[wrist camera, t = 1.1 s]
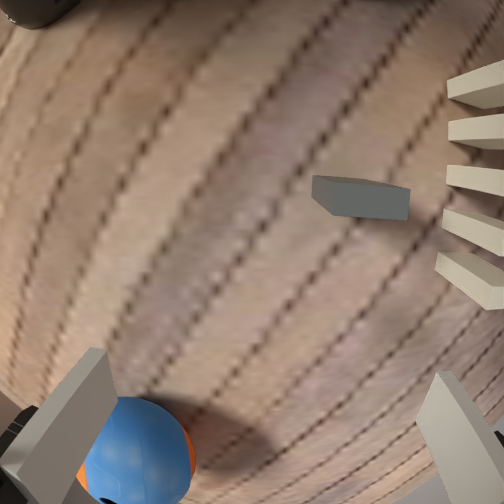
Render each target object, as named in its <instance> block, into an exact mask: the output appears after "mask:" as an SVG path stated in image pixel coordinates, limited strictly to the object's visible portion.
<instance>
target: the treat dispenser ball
mask: <svg viewBox="0 0 504 504" xmlns="http://www.w3.org/2000/svg"><path fill="white" fill-rule="evenodd" d="M117 399H118V402H117V404H116V406H115V408H114V409H113V411H112V413H111V414H110V416H109V418H108V420H107V421H106V423H105V425H104V427H103V428H102V430H101V432H100V434H99V435H98V437H97V439H96V441H95V442H94V444H93V446H92V448H91V450H90V451H89V453H88V455H87V457H86V459H85V460H84V462H83V464H82V466H81V468H80V470H79V471H78V473H77V475H76V477H77V479H78V480H79V482H80V483H81V485H82V486H83V487H84V488H85V490H86V491H87V492H89V494H90V495H91V496H93V498H95V499H96V500H98V501H99V502H100V503H102V504H176V503H178V502H179V501H180V500H181V499H182V498H183V497H184V495H185V494H186V493H187V491H188V489H189V487H190V482H191V479H192V476H193V474H194V472H195V465H196V458H195V451H194V448H193V445H192V442H191V440H190V438H189V436H188V434H187V432H186V431H185V429H184V428H183V427H182V425H181V424H180V423H179V422H178V421H177V420H176V419H175V418H174V417H173V416H172V415H171V414H170V413H169V412H168V411H166V410H165V409H163V408H162V407H160V406H158V405H156V404H154V403H152V402H150V401H147V400H144V399H140V398H134V397H117Z"/></svg>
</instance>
